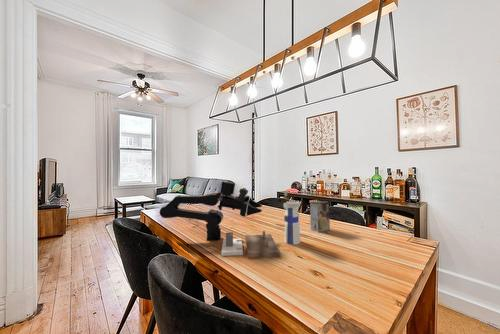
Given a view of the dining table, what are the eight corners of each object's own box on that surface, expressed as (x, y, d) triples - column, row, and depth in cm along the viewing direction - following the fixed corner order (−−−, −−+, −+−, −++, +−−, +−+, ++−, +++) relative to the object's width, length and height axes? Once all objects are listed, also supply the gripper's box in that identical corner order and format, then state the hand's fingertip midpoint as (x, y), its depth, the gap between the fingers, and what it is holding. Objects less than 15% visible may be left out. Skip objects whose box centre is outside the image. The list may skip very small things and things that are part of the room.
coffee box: (321, 227, 128) (321, 200, 128) (330, 230, 123) (329, 202, 123) (310, 229, 124) (309, 201, 124) (318, 232, 118) (318, 203, 118)
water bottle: (280, 243, 103) (280, 191, 103) (286, 237, 111) (286, 189, 110) (297, 246, 99) (297, 192, 99) (302, 240, 107) (302, 190, 107)
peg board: (248, 257, 88) (247, 244, 87) (245, 239, 109) (245, 228, 109) (279, 256, 88) (279, 243, 88) (270, 238, 110) (270, 227, 110)
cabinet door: (221, 255, 90) (221, 240, 90) (223, 242, 106) (223, 228, 106) (242, 255, 90) (242, 239, 90) (241, 241, 106) (241, 228, 106)
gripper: (231, 191, 101) (264, 197, 100) (236, 184, 119) (264, 189, 118) (227, 214, 102) (260, 220, 101) (233, 203, 120) (260, 208, 119)
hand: (261, 208), depth 110 cm, fingers open, 9 cm apart
